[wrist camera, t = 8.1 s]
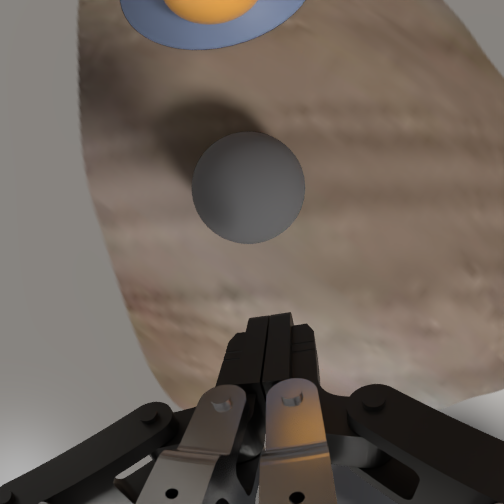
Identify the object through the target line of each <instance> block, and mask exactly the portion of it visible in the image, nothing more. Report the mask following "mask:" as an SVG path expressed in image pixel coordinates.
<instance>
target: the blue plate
mask: <svg viewBox="0 0 504 504" xmlns="http://www.w3.org/2000/svg"><path fill="white" fill-rule="evenodd" d="M304 1H305V0H258V1H257V2H256V3H255V5H254V6H253V7H252V8H251V9H250V10H249V11H247V12H246V13H245V14H243V15H242V16H240V17H238V18H236V19H234V20H231V21H228V22H225V23H220V24H209V25H207V24H198V23H193V22H190V21H187V20H185V19H183V18H181V17H179V16H178V15H176V14H175V13H174V12H173V11H171V10H170V9H169V7H168V6H167V5H166V3H165V2H164V0H120V2H121V6H122V10H123V12H124V15H125V17H126V18H127V20H128V21H129V23H130V24H131V25H132V26H133V27H134V28H135V29H136V30H137V31H138V32H139V33H141V34H142V35H143V36H145V37H146V38H148V39H150V40H152V41H154V42H156V43H159V44H162V45H165V46H168V47H173V48H178V49H187V50H207V49H216V48H223V47H227V46H233V45H236V44H239V43H243V42H246V41H249V40H251V39H254V38H256V37H259V36H261V35H263V34H265V33H267V32H269V31H271V30H273V29H274V28H276V27H277V26H279V25H280V24H282V23H283V22H285V21H286V20H287V19H288V18H289V17H291V16H292V15H293V14H294V13H295V12H296V11H297V10H298V9H299V8H300V7H301V5H302V4H303V3H304Z"/></svg>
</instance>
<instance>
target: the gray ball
mask: <svg viewBox="0 0 504 504" xmlns="http://www.w3.org/2000/svg"><path fill="white" fill-rule="evenodd" d="M304 194H305V180H304V175H303V171H302V168H301V166H300V163H299V161H298V160H297V158H296V156H295V155H294V154H293V152H292V151H291V150H290V149H289V148H288V147H287V146H286V145H285V144H283V143H282V142H281V141H279V140H278V139H276V138H274V137H272V136H269V135H267V134H263V133H259V132H238V133H234V134H230V135H228V136H225V137H223V138H221V139H219V140H218V141H216V142H215V143H213V144H212V145H211V146H210V147H209V148H208V149H207V150H206V151H205V152H204V154H203V155H202V156H201V158H200V159H199V161H198V163H197V165H196V168H195V170H194V174H193V179H192V196H193V202H194V205H195V208H196V210H197V212H198V214H199V216H200V218H201V219H202V221H203V222H204V223H205V224H206V225H207V227H209V228H210V229H211V230H212V231H213V232H214V233H216V234H217V235H219V236H221V237H222V238H224V239H227V240H230V241H233V242H237V243H243V244H254V243H260V242H264V241H267V240H270V239H272V238H274V237H276V236H278V235H279V234H281V233H282V232H284V231H285V230H286V229H287V228H288V227H289V226H290V225H291V224H292V223H293V222H294V220H295V219H296V217H297V216H298V214H299V212H300V210H301V207H302V204H303V200H304Z"/></svg>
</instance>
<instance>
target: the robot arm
mask: <svg viewBox="0 0 504 504" xmlns="http://www.w3.org/2000/svg"><path fill="white" fill-rule="evenodd" d="M265 434H266V450H265V447H264V442H265ZM147 455H150V457H151V458H152V459H153V460H152V461H150V462H149V463H147V464H146V465H144V466H143V467H142V468H140V469H138V470H137V471H135V472H134V473H132V474H131V475H129V476H127V477H126V478H124V479H116V478H115V477H116V476H117V475H118V474H120V473H121V472H123V471H124V470H126V469H128V468H129V467H131V466H132V465H134V464H135V463H137V462H138V461H140V460H141V459H143V458H145V457H146V456H147ZM331 464H334V465H342V466H349V467H350V469H351V470H352V471H353V472H354V473H355V474H356V475H358V476H359V477H360V478H362V479H363V480H365V481H366V482H367V483H369V484H370V485H372V486H373V487H374V488H376V489H377V490H379V491H380V492H382V493H383V494H385V495H386V496H387V497H389V498H390V499H392V500H393V501H395V502H396V503H398V504H504V441H502V440H500V439H498V438H495V437H493V436H491V435H489V434H486V433H484V432H482V431H480V430H478V429H475V428H473V427H471V426H469V425H467V424H465V423H462V422H460V421H458V420H456V419H454V418H452V417H450V416H447V415H445V414H444V413H441V412H439V411H437V410H435V409H433V408H431V407H429V406H427V405H425V404H423V403H421V402H419V401H417V400H415V399H413V398H411V397H409V396H407V395H405V394H403V393H401V392H399V391H398V390H396V389H394V388H392V387H389V386H387V385H382V384H371V385H367V386H364V387H361V388H359V389H357V390H356V391H354V392H353V393H352V394H351V396H350V397H347V396H337V395H333V394H330V393H328V392H326V391H325V390H324V389H322V388H321V386H320V376H319V365H318V357H317V350H316V344H315V337H314V331H313V330H312V329H311V328H310V326H309V325H308V324H301V325H294V324H293V319H292V314H291V312H289V313H282V314H275V315H271V316H261V317H254V318H249V320H248V325H247V329H246V332H242V333H236V335H235V336H234V337H233V338H232V339H231V340H230V341H229V343H228V346H227V349H226V353H225V356H224V361H223V363H222V366H221V370H220V373H219V376H218V380H217V383H216V386H215V387H214V388H212V389H210V390H208V391H207V392H205V393H204V394H203V395H202V397H201V398H200V400H199V402H198V404H197V406H196V407H194V408H190V409H186V410H182V411H178V412H174V413H173V412H172V410H171V408H170V407H169V406H168V405H167V404H165V403H162V402H152V403H147V404H145V405H142V406H141V407H139V408H137V409H136V410H134V411H133V412H131V413H129V414H128V415H126V416H125V417H123V418H122V419H120V420H118V421H117V422H115V423H113V424H112V425H110V426H109V427H107V428H105V429H103V430H102V431H100V432H98V433H97V434H95V435H94V436H92V437H90V438H88V439H87V440H85V441H83V442H82V443H80V444H78V445H77V446H75V447H73V448H71V449H69V450H68V451H66V452H64V453H62V454H61V455H59V456H57V457H55V458H53V459H52V460H50V461H48V462H46V463H44V464H42V465H41V466H39V467H37V468H35V469H33V470H31V471H29V472H27V473H26V474H24V475H22V476H20V477H18V478H16V479H14V480H12V481H10V482H8V483H6V484H4V485H2V486H1V487H0V504H255V502H256V495H257V491H258V486H259V504H337V499H336V493H335V487H334V480H333V473H332V468H331Z"/></svg>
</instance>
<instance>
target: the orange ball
mask: <svg viewBox="0 0 504 504" xmlns="http://www.w3.org/2000/svg"><path fill="white" fill-rule="evenodd" d="M257 1H258V0H164V2H165V3H166V5H167V6H168V7H169V9H170V10H171V11H173V12H174V13H175V14H176V15H178V16H179V17H181V18H183V19H185V20H187V21H190V22H193V23H198V24H207V25H209V24H220V23H225V22H228V21H231V20H234V19H236V18H238V17H240V16H242V15H243V14H245V13H246V12H247V11H249V10H250V9H251V8H252V7H253V6H254V5H255V3H256V2H257Z"/></svg>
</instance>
